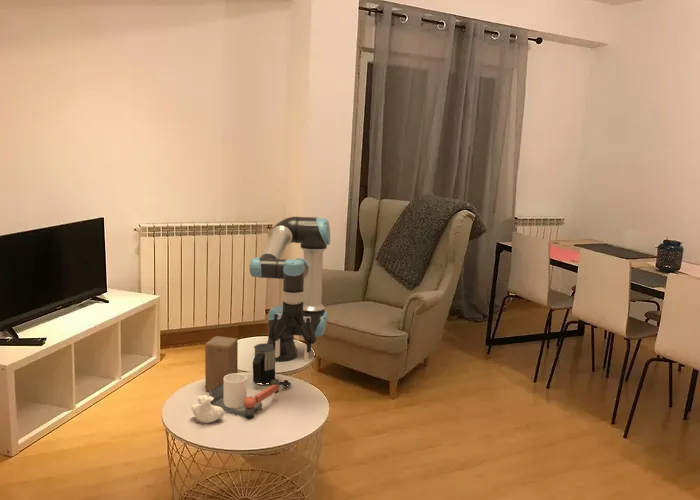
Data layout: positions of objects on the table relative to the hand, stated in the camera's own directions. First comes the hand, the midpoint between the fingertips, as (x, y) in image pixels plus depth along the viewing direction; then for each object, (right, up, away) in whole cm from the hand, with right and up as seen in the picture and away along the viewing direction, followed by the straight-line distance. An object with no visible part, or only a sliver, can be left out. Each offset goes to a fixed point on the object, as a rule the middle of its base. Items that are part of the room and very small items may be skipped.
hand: (291, 358), depth 219 cm
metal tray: (-20, -18, -2) cm, 27 cm away
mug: (-21, -16, -1) cm, 26 cm away
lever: (-11, -16, -3) cm, 19 cm away
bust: (-29, -20, -13) cm, 37 cm away
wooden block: (-29, -15, +14) cm, 36 cm away
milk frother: (-10, -14, +20) cm, 27 cm away
